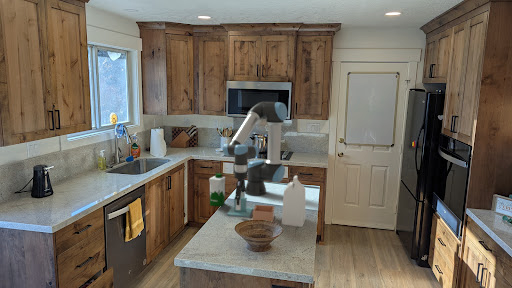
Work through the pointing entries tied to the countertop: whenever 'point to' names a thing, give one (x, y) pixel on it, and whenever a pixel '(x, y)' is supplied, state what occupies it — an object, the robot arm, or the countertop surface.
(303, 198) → the milk
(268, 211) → the pot
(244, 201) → the lid
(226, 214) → the mat
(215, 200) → the milk carton
